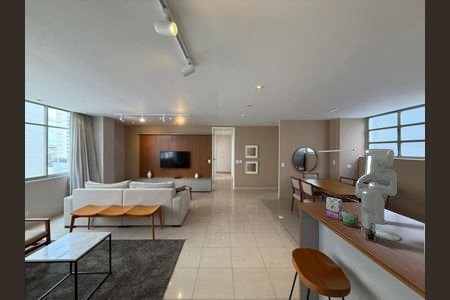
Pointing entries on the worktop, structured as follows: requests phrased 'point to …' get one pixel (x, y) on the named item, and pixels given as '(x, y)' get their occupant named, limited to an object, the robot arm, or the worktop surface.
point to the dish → (387, 235)
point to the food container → (350, 219)
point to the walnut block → (366, 234)
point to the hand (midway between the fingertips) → (368, 236)
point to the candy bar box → (334, 208)
